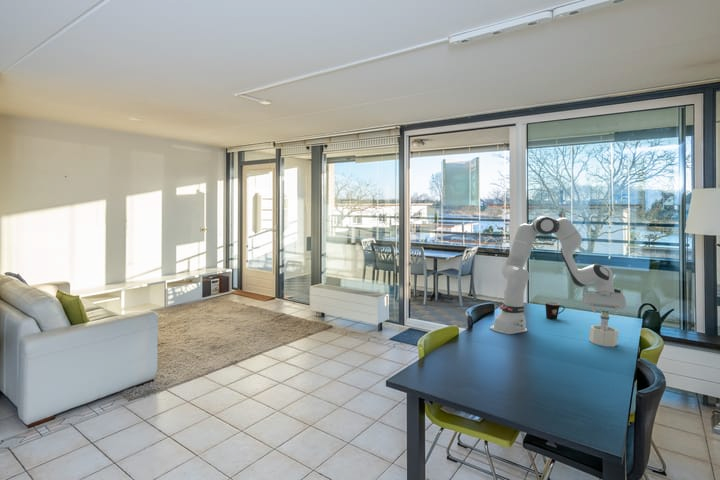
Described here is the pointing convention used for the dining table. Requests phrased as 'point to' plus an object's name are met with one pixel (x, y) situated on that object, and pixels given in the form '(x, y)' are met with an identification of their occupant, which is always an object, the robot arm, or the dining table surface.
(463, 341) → the dining table surface
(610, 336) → the round wooden bowl
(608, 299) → the robot arm
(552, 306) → the coffee mug
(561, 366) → the dining table surface
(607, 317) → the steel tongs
